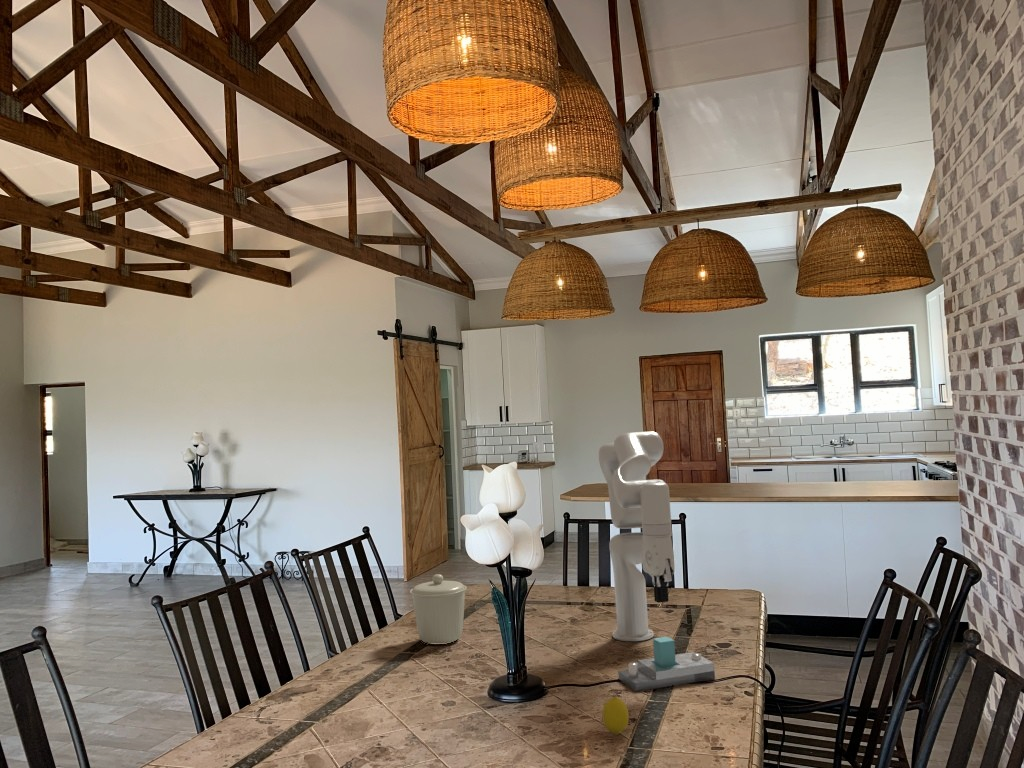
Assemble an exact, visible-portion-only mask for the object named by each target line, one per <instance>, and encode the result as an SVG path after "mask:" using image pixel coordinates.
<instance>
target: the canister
mask: <svg viewBox="0 0 1024 768" xmlns="http://www.w3.org/2000/svg"><path fill="white" fill-rule="evenodd" d="M431 580H432V581H427V582H422V583H419V584H416V585H415V586H414V587H413V588H411V589H410V590H409V593H410V595H411V597H412V604H413V609H414V615H415V622H416V623H415V624H416V627H417V632H418V633H417V634H418V637H419V640H420V639H421V640H422V641H424V642H428V643H447V642H452V641H455V640H457V639H459V638H460V639H461V637H462V634H463V627H464V617H465V615H464V614H465V613H464V612H465V596H466V595H465V594H466V593H465V592H466V591H467V589H468V588H467V585H465V584H463V583H462V582H460V581H456V580H444V576H443V575H442V574H439V573H436V574H434V575H433V576H432V577H431ZM460 639H459V640H460ZM421 640H420V641H421ZM422 641H421V642H422ZM457 641H458V640H457Z"/></svg>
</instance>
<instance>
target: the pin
mask: <svg viewBox="0 0 1024 768" xmlns="http://www.w3.org/2000/svg"><path fill="white" fill-rule="evenodd" d="M652 643H653V644H652V645H653V658H654V662H655V665H657V666H659V667H660V668H661V667H668V666H675V665H676V661H675V655H676V650H675V649H676V646H675V640H674V639H673V638H670V637H668V636H662V637H655V638H652Z"/></svg>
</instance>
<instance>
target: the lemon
mask: <svg viewBox="0 0 1024 768" xmlns="http://www.w3.org/2000/svg"><path fill="white" fill-rule="evenodd" d="M629 716H630V715H629V710H628V707H627V705H626V703H625V702H624V701H623V700H622V699H621V698H617V696H613V697H612V698H609V699H608V700H606V702H605V703H604V706H603V709H602V720H603V725H604V727H605V728H606V729H607V731H609V732H610V733H611V732H612V733H613V734H614V735H615V736H618V735H619V734H620V733H622V732H623V731H625V730H626V728H627V727H628V725H629V718H630V717H629Z"/></svg>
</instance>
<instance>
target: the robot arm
mask: <svg viewBox="0 0 1024 768" xmlns="http://www.w3.org/2000/svg"><path fill="white" fill-rule="evenodd" d="M663 454H664V442H663V439H662V437H661V435H660V434H659V433H658V432H655V431H652V430H651V431H650V430H649V431H647V430H646V431H636V432H635V431H634V432H633V431H632V432H624V433H621V434H619V435H618V436H617V437H616V438H615V439H614V442H608V443H605V444H603V445H601V446H600V447H599V450H598V463H599V466H600V469H601V471H602V474H603V477H604V479H605V481H606V484H607V488H608V499H609V508H610V518H611V522H612V525H613V526H614V527H615V528H616V529H625V530H626V529H627V530H628V529H641V530H642V532H641V531H640V532H636V531H635V532H623V533H618V534H615V535H613V536H612V537H611V538H610V540H609V548H608V549H609V553H610V559H611V563H612V564H611V565H612V570H613V581H614V583H613V584H614V597H615V610H616V611H615V612H616V625H617V626H616V629H615V630H613V631H612V637H613V639H615V640H618V641H621V642H622V641H624V642H642V641H647V640H650V639H653V637H654V636H655V633H654V631H653V630H652V629H651V628H649V619H648V618H649V617H648V602H647V588H646V585H647V584H646V578H645V576H644V574H643V572H644V573H646V574H648V575H649V576H650V577H651V581H652V585H653V595H654V597H653V599H654V602H655V603H667V602H669V582H672V576H673V575H674V574H675V569H676V567H675V556H674V555H675V554H674V548H673V547H674V546H673V542H672V541H673V540H672V536H673V530H672V529H673V528H672V516H671V515H672V514H671V498H670V488H669V485H668V483H666V482H665V480H662V479H643V478H645V477H647V475H649V473H650V471H651V469H652V467H653V466H655V465H656V464H657V463H658V462H659V460H661V459H662V457H663ZM641 564H642V570H643V572H642V571H641V570H640V569H639V568H638V567H637V565H641Z"/></svg>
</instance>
